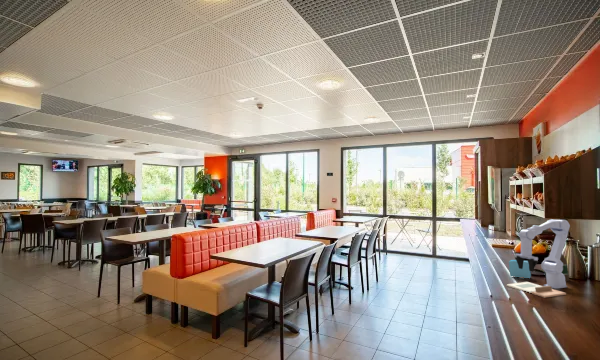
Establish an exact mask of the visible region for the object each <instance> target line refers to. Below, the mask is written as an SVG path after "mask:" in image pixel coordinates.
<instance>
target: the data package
mask: <svg viewBox="0 0 600 360" xmlns="http://www.w3.org/2000/svg"><path fill="white" fill-rule="evenodd" d="M508 268H509V276H510V277H511V276H515V277H524V278H529V279H530V278H532V277H531V276H532V274H531V273H532V271H529V263H528V260H524V262H523V269H519V267H518V263H517V261H516V259H510V260H509V261H508ZM524 278H523V279H524Z"/></svg>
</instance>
